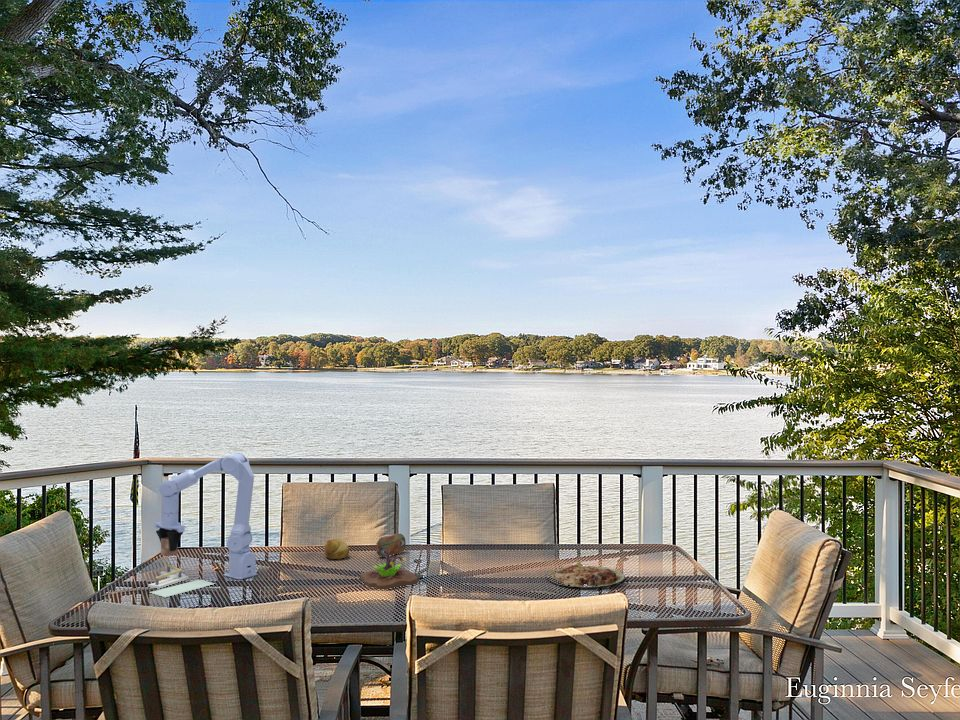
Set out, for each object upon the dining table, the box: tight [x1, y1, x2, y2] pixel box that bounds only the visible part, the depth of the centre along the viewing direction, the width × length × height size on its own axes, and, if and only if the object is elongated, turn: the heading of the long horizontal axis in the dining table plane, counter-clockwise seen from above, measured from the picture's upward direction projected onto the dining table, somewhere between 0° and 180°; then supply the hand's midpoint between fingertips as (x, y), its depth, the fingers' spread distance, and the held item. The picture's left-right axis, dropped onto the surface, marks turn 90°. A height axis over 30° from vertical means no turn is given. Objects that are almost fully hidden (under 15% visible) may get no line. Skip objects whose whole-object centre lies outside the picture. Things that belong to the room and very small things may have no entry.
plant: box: [359, 550, 420, 590], centre depth 255 cm, size 20×20×11 cm
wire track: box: [147, 563, 190, 590], centre depth 253 cm, size 17×17×4 cm
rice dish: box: [546, 562, 626, 589], centre depth 259 cm, size 28×28×5 cm
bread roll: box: [324, 538, 350, 560], centre depth 289 cm, size 13×10×8 cm
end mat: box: [149, 579, 216, 599], centre depth 243 cm, size 9×19×1 cm, turn 146°
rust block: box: [160, 537, 179, 557], centre depth 262 cm, size 4×4×6 cm
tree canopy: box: [375, 533, 407, 558], centre depth 293 cm, size 15×3×8 cm, turn 143°
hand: (169, 549), depth 262 cm, fingers closed on rust block, 4 cm apart
